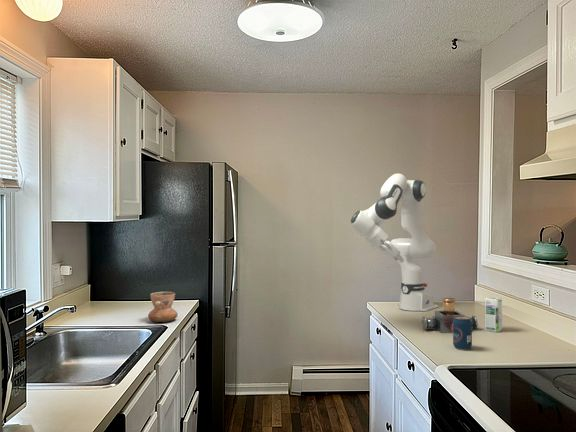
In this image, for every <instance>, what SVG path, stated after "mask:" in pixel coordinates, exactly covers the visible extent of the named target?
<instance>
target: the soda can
mask: <svg viewBox="0 0 576 432" xmlns="http://www.w3.org/2000/svg"><path fill="white" fill-rule="evenodd" d="M470 318H471V317H469V316H466V315H465V316H455V317H454V320H453V333H452V344H453V346H454V348H455V349H456V350H461V351H462V350H463V351H469V350H471V349H472V345H473V344H472V343H473V333H472V332H473V330H472V329H473V328H472V322H471V320H470Z"/></svg>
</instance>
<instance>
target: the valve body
mask: <svg viewBox="0 0 576 432" xmlns="http://www.w3.org/2000/svg"><path fill="white" fill-rule="evenodd" d="M455 316H466V315H464V314H463V313H461V312H460V311H458V310H455V315H444V310H435V311H434V315H433V316H432V317H431V318H429V317H426V316H423V317H422V320H421V325H422V329H423V331H427V330H428V329H435V330H436V331H437V332H439V333H440V334H449V333H450V334H451V333H452V334H453V320H454V317H455ZM469 318H470V320H471V322H472V329H473V330H477V329H478V327H479V325H478V324H479V323H478V317H477V316H476V315H472V316H471V317H469Z"/></svg>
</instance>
